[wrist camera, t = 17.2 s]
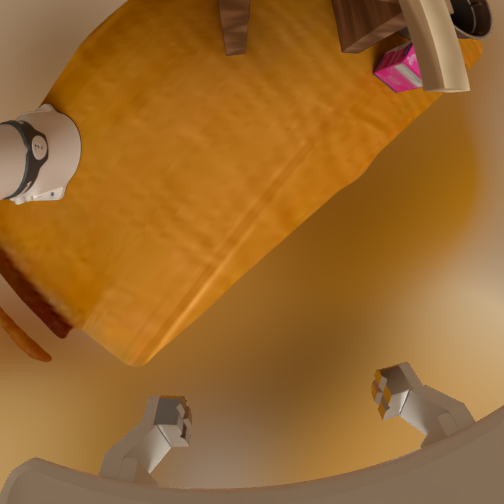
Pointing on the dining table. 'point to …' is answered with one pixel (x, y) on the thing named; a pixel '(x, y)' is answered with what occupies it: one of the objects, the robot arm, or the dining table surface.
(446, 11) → the marker stick
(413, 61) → the supplement box
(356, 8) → the shelf
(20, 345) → the dining table surface
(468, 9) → the plant pot
